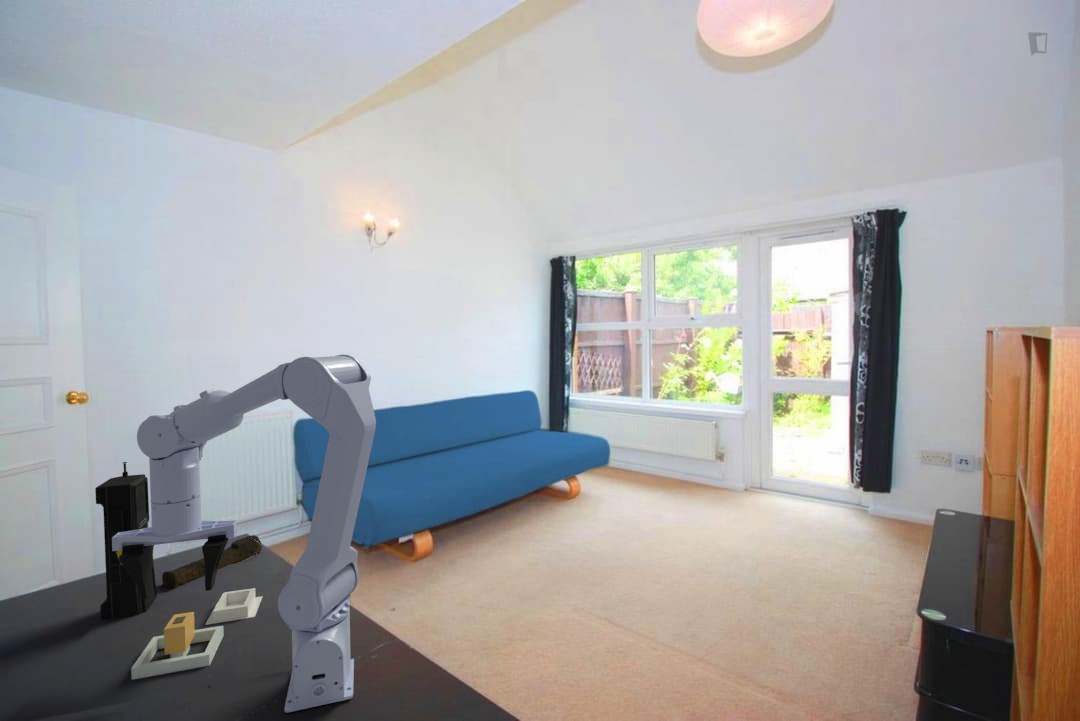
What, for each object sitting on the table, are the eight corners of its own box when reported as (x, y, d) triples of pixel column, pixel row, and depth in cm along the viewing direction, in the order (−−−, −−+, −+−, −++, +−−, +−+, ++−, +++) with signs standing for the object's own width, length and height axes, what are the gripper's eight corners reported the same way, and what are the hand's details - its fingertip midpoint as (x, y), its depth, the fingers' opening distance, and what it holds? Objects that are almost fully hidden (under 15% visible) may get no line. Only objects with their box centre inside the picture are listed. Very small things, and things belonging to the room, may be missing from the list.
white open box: (254, 621, 83) (254, 605, 83) (205, 629, 81) (204, 613, 81) (262, 600, 90) (262, 586, 90) (217, 607, 88) (216, 592, 87)
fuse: (186, 663, 72) (184, 625, 71) (165, 667, 71) (163, 628, 71) (195, 647, 75) (194, 611, 75) (175, 650, 75) (174, 614, 74)
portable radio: (143, 621, 83) (137, 470, 82) (97, 628, 81) (91, 474, 80) (158, 598, 91) (154, 459, 90) (117, 604, 89) (111, 462, 87)
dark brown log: (173, 596, 92) (172, 570, 92) (160, 590, 94) (160, 566, 94) (269, 556, 109) (269, 534, 109) (257, 552, 111) (256, 531, 111)
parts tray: (209, 670, 71) (209, 654, 71) (131, 685, 68) (131, 668, 68) (223, 640, 78) (223, 625, 78) (153, 651, 75) (153, 636, 75)
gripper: (240, 485, 78) (243, 571, 79) (126, 494, 73) (129, 586, 74) (229, 498, 72) (232, 593, 72) (102, 510, 67) (107, 611, 67)
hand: (179, 591), depth 73 cm, fingers open, 7 cm apart
